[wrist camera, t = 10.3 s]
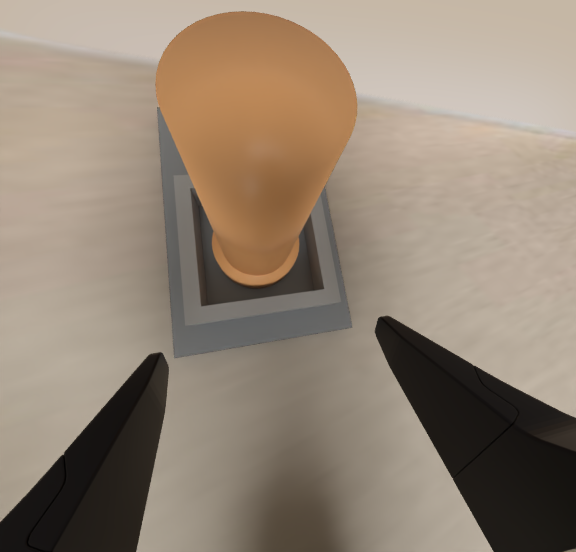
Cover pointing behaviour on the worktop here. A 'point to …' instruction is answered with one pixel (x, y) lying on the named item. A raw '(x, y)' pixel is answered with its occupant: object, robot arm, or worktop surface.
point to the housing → (230, 296)
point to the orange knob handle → (255, 132)
